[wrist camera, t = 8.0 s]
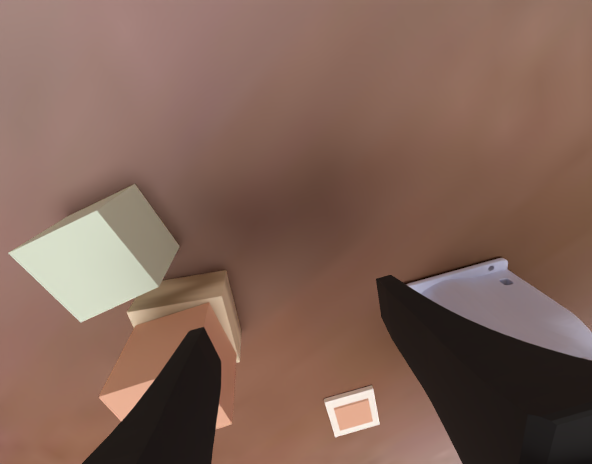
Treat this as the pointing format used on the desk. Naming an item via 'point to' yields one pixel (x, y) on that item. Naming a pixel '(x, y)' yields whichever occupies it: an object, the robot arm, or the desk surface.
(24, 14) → the desk surface
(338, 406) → the tile
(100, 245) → the sage cube
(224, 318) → the maple base
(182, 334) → the terracotta cube
